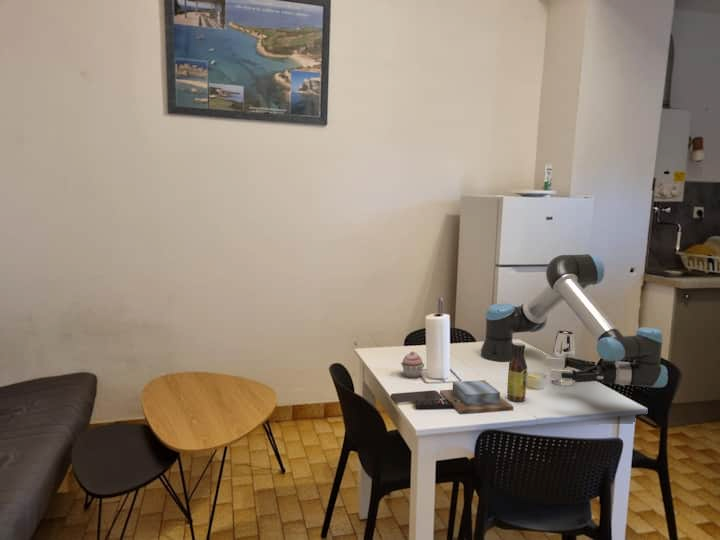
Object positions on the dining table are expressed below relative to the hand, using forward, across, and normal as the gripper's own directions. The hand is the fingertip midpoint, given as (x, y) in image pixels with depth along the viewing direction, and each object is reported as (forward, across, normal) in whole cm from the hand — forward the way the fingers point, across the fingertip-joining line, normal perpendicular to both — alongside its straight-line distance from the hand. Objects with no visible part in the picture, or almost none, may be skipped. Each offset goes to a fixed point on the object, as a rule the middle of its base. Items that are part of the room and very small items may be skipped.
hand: (547, 367), depth 178 cm
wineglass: (-9, +22, -13) cm, 27 cm away
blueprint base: (+24, -6, -12) cm, 28 cm away
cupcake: (+48, +14, -12) cm, 52 cm away
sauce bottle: (+10, 0, -13) cm, 16 cm away
